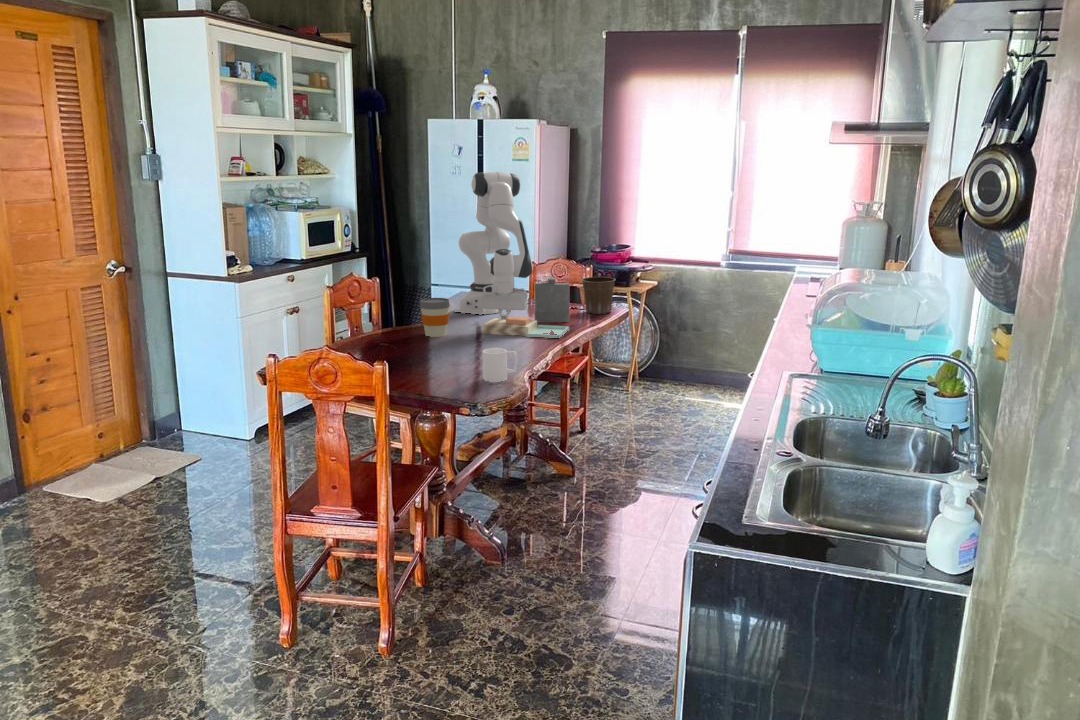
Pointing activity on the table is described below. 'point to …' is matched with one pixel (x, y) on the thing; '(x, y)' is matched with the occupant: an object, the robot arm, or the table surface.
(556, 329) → the tray
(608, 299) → the plant pot
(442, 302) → the reusable coffee cup
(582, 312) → the table surface
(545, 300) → the hip flask
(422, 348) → the table surface
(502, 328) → the beige flat block
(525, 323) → the salmon pink block
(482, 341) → the table surface
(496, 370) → the cup
